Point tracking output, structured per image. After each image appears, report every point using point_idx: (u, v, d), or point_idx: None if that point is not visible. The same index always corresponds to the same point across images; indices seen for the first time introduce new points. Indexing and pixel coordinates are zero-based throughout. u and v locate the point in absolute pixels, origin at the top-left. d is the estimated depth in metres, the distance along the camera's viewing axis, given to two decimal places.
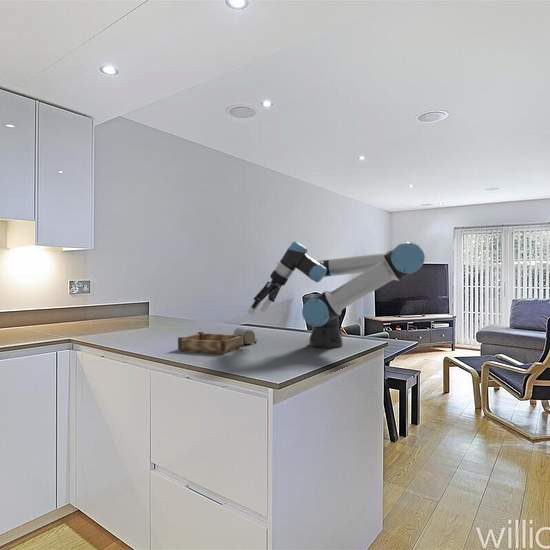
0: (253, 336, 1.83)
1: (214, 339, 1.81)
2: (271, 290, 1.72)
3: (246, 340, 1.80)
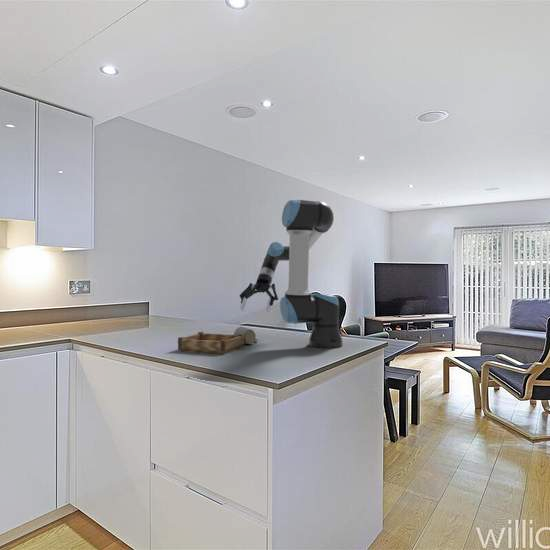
0: (253, 336, 1.83)
1: (214, 339, 1.81)
2: (254, 287, 2.04)
3: (247, 340, 1.80)
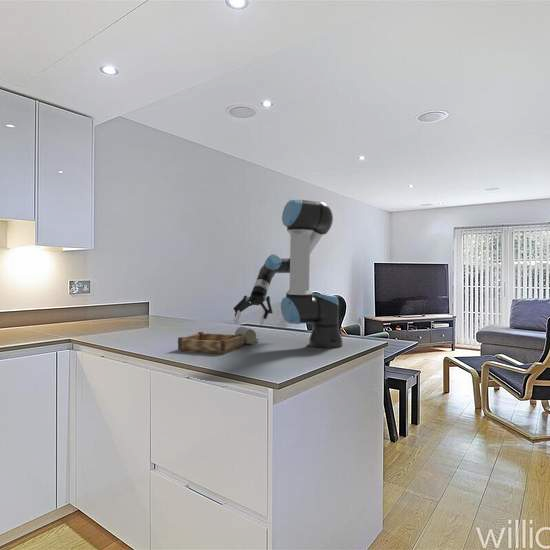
0: (254, 336, 1.83)
1: (214, 339, 1.81)
2: (249, 300, 1.99)
3: (247, 340, 1.81)
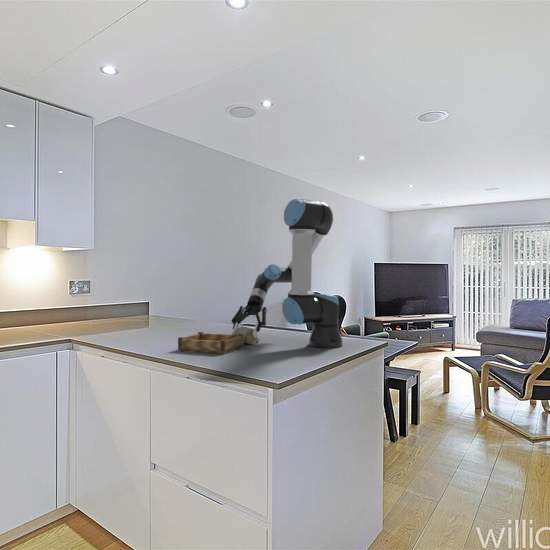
0: None
1: (214, 339, 1.81)
2: None
3: (248, 340, 1.81)
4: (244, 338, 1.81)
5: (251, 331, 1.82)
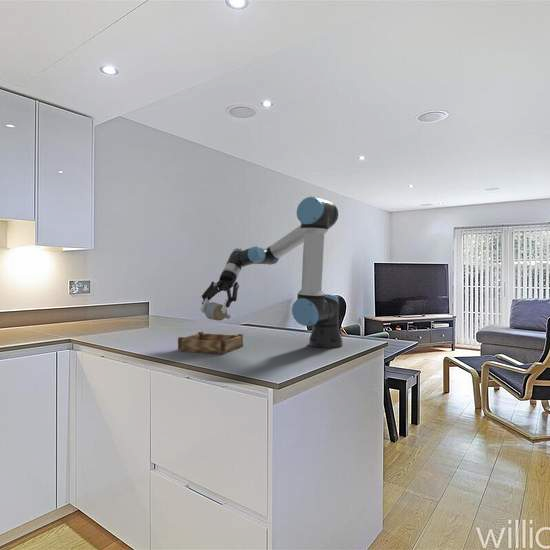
0: (225, 312, 1.75)
1: (214, 339, 1.81)
2: None
3: (217, 315, 1.72)
4: (212, 314, 1.72)
5: (220, 307, 1.73)
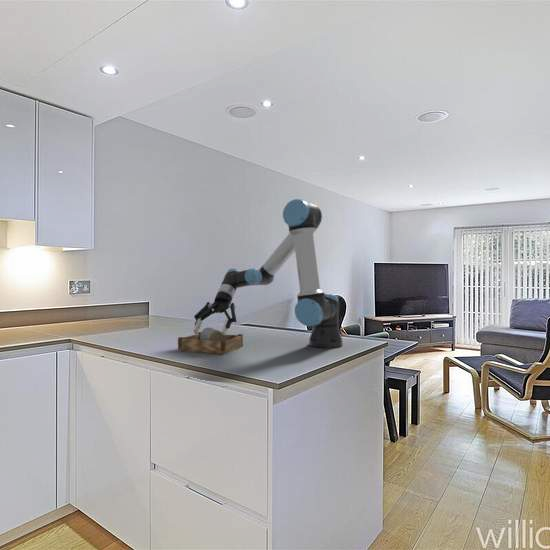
0: (221, 338, 1.71)
1: None
2: None
3: None
4: None
5: (216, 333, 1.69)
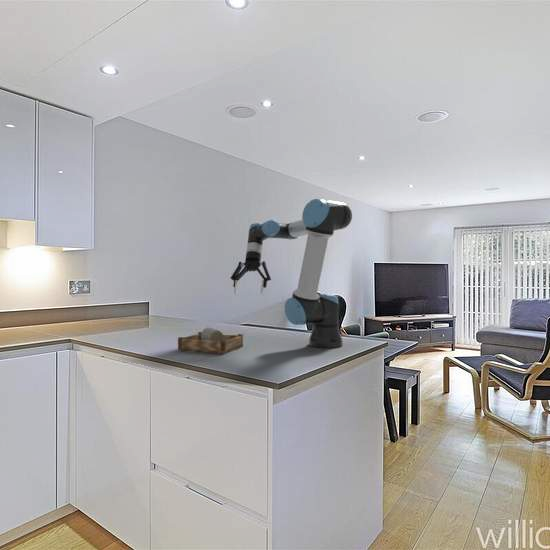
0: (221, 337, 1.71)
1: None
2: (244, 267, 1.95)
3: None
4: (209, 340, 1.68)
5: (217, 333, 1.69)
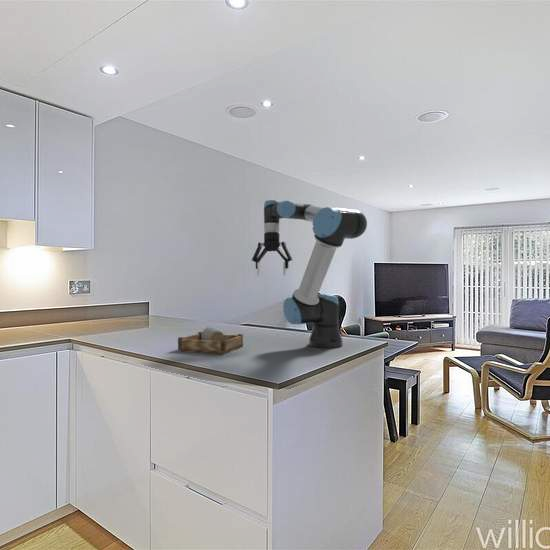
0: (222, 337, 1.71)
1: None
2: (264, 248, 1.95)
3: None
4: (210, 340, 1.68)
5: (217, 332, 1.70)
